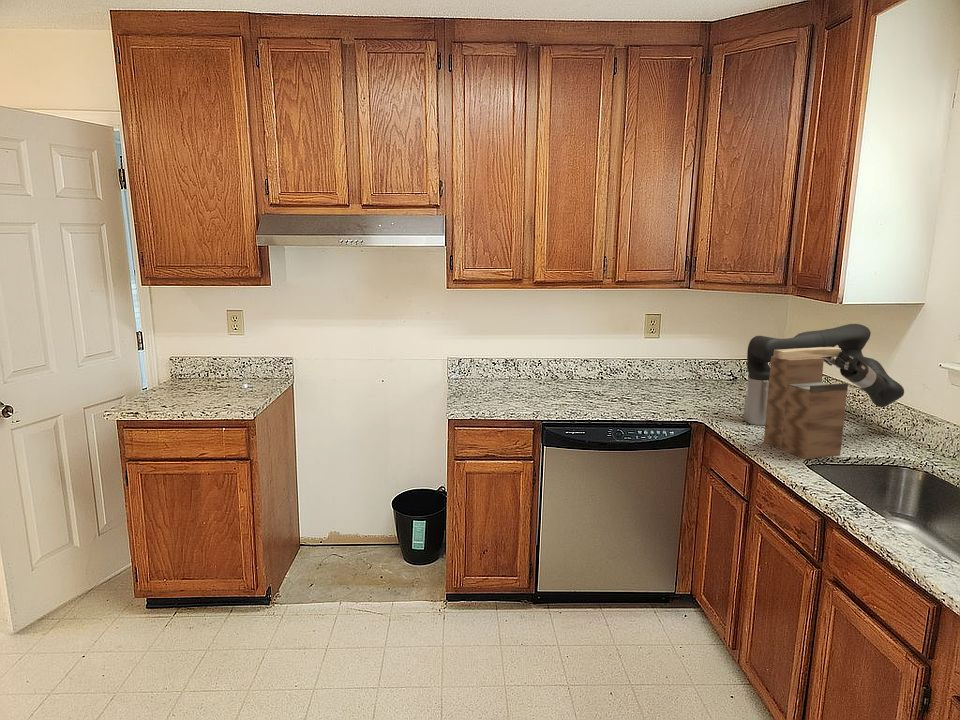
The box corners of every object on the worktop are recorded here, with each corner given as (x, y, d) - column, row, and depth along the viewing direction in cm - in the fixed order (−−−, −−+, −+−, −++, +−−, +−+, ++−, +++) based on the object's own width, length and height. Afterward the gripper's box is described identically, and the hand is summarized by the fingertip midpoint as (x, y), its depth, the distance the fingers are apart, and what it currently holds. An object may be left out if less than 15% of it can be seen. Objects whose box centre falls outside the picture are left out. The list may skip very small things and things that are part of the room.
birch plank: (773, 357, 204) (773, 349, 204) (830, 354, 211) (831, 346, 211) (782, 359, 201) (783, 351, 200) (840, 355, 208) (840, 348, 207)
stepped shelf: (763, 442, 212) (771, 356, 206) (796, 439, 216) (804, 354, 211) (805, 459, 195) (814, 365, 190) (840, 455, 199) (850, 363, 194)
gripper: (845, 360, 221) (817, 339, 215) (882, 367, 207) (852, 345, 202) (835, 378, 221) (806, 358, 215) (871, 386, 207) (841, 365, 202)
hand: (828, 351), depth 209 cm, fingers open, 8 cm apart
